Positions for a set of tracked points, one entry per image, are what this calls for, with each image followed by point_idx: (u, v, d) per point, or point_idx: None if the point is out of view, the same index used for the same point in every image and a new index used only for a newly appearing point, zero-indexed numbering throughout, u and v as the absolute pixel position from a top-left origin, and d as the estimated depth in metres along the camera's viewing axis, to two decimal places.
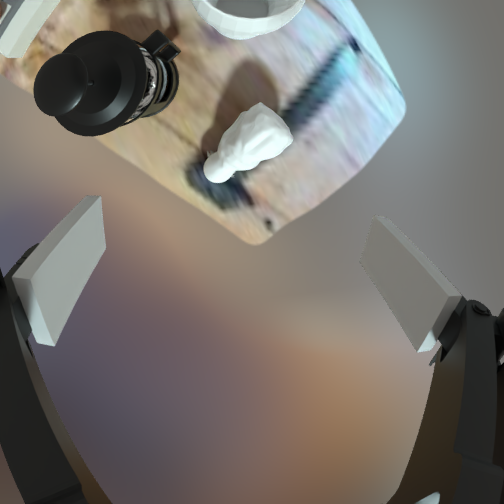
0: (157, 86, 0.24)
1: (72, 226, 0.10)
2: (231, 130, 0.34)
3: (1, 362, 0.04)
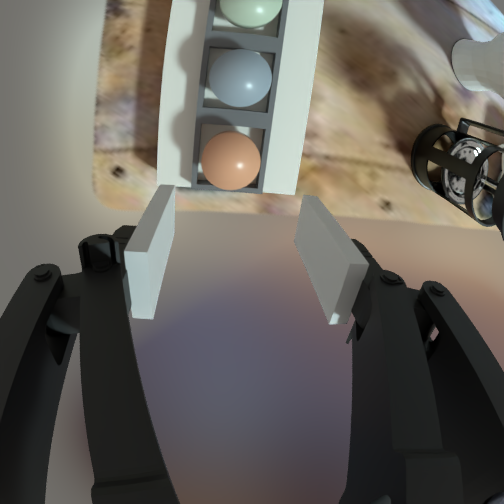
0: None
1: (164, 209, 0.12)
2: None
3: (104, 336, 0.06)
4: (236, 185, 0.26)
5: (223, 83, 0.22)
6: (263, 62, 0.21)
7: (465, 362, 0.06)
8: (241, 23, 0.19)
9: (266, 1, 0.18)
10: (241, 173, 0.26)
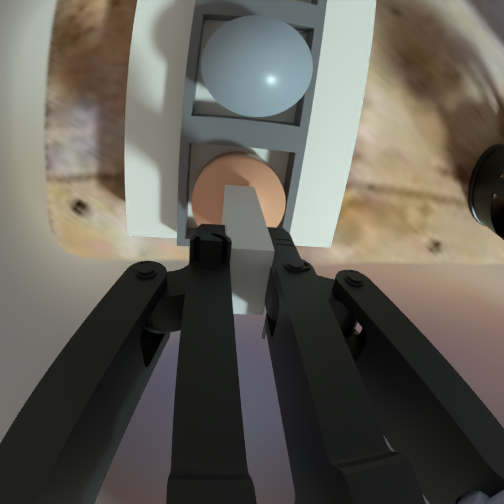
0: None
1: (243, 209, 0.13)
2: None
3: (207, 332, 0.07)
4: None
5: (226, 74, 0.12)
6: (298, 39, 0.11)
7: (402, 362, 0.06)
8: None
9: None
10: None
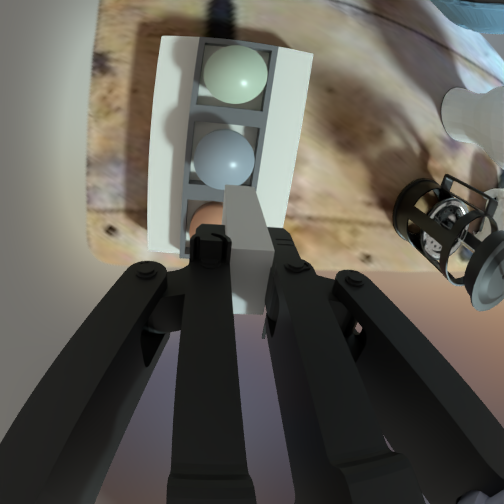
0: None
1: (243, 209, 0.13)
2: None
3: (207, 332, 0.07)
4: None
5: (207, 166, 0.24)
6: (246, 144, 0.24)
7: (402, 362, 0.06)
8: None
9: (250, 76, 0.21)
10: None
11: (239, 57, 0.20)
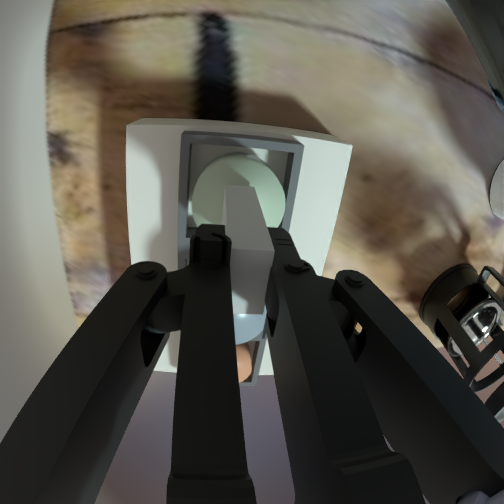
0: None
1: (243, 209, 0.13)
2: None
3: (207, 332, 0.07)
4: None
5: None
6: None
7: (402, 362, 0.06)
8: None
9: None
10: None
11: (243, 180, 0.15)
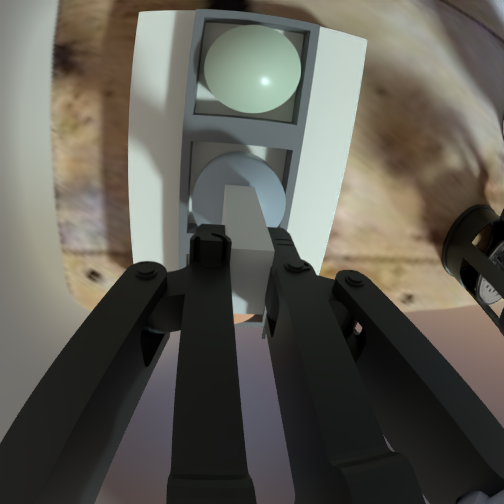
0: None
1: (243, 209, 0.13)
2: None
3: (207, 332, 0.07)
4: (234, 320, 0.22)
5: (213, 214, 0.16)
6: (273, 180, 0.16)
7: (402, 362, 0.06)
8: (238, 110, 0.15)
9: (276, 72, 0.14)
10: None
11: (258, 43, 0.13)
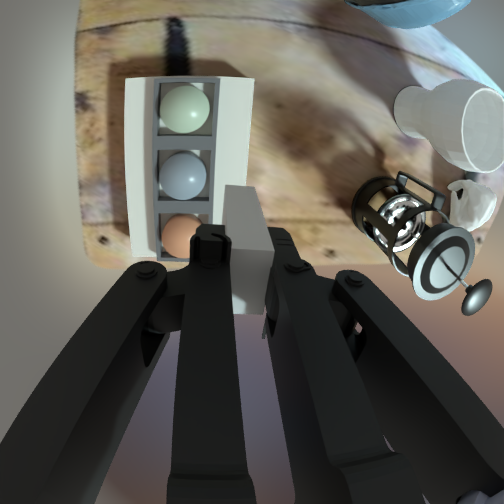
0: None
1: (243, 209, 0.13)
2: (457, 207, 0.39)
3: (207, 332, 0.07)
4: (188, 255, 0.36)
5: (170, 183, 0.31)
6: (198, 163, 0.31)
7: (402, 362, 0.06)
8: None
9: (196, 110, 0.28)
10: None
11: (186, 95, 0.27)
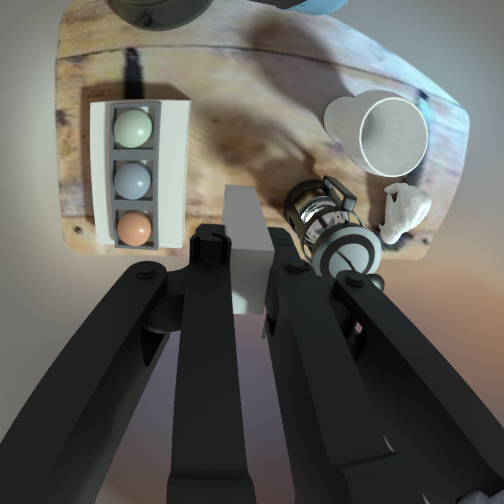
0: None
1: (243, 209, 0.13)
2: (391, 209, 0.47)
3: (207, 332, 0.07)
4: (138, 243, 0.43)
5: (122, 186, 0.38)
6: (142, 171, 0.38)
7: (401, 362, 0.06)
8: (128, 146, 0.36)
9: (140, 129, 0.35)
10: (139, 236, 0.42)
11: (132, 118, 0.34)
